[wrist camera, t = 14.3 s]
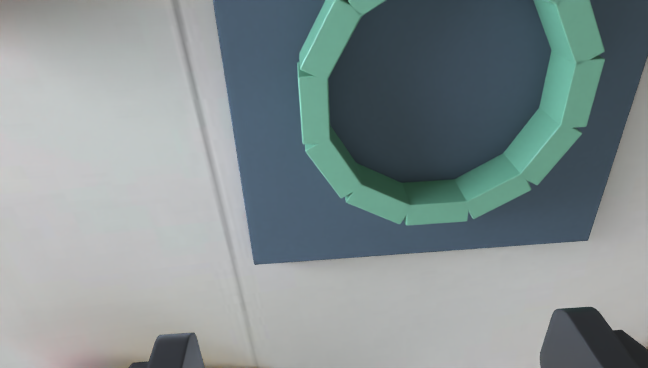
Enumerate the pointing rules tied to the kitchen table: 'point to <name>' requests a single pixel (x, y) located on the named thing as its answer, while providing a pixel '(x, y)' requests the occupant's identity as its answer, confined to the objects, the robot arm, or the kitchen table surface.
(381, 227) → the mat
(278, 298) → the kitchen table surface
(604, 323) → the robot arm
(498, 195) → the ring
